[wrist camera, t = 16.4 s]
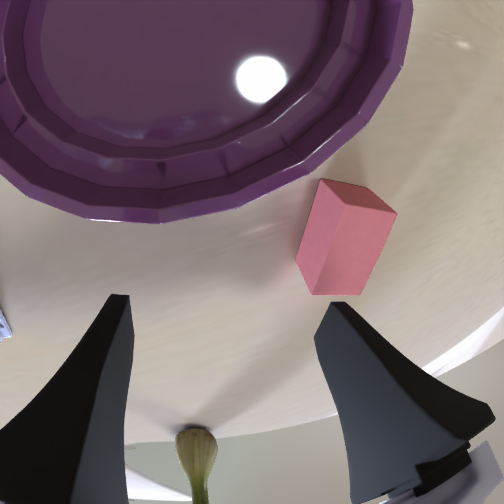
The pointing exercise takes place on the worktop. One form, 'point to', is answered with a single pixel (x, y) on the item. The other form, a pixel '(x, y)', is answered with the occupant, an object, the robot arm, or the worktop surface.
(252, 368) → the worktop surface
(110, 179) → the bowl
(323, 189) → the eraser
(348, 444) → the robot arm
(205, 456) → the fennel bulb
